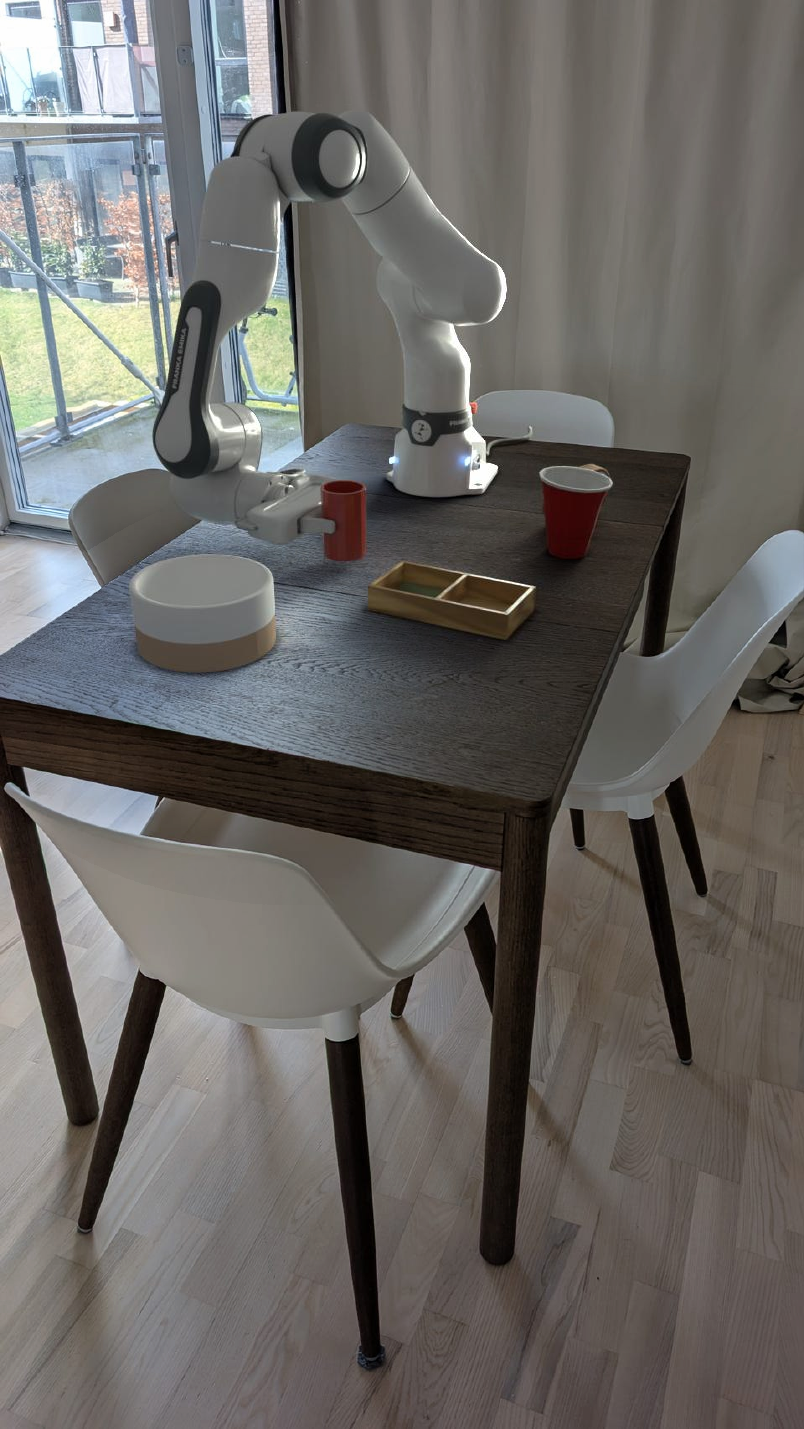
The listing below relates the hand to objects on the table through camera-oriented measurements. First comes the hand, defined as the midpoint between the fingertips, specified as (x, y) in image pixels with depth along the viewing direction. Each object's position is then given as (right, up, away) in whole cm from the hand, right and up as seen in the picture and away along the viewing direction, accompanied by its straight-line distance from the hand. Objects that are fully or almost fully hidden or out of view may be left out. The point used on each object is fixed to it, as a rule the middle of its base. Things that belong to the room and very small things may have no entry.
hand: (349, 518), depth 149 cm
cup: (-1, -5, +3) cm, 6 cm away
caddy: (+14, -14, -11) cm, 23 cm away
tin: (+36, +4, +22) cm, 42 cm away
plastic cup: (+33, -4, +9) cm, 34 cm away
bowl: (-17, -19, -20) cm, 32 cm away
